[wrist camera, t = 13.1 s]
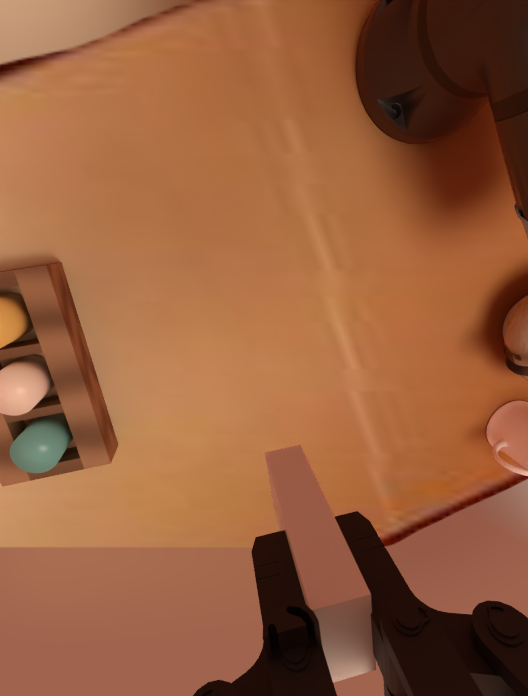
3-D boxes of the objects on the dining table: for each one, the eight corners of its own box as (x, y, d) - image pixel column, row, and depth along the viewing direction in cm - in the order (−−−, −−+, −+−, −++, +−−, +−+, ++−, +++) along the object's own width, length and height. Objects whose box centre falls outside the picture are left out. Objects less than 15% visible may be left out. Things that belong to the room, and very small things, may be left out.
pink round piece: (3, 359, 39) (-25, 376, 35) (48, 351, 40) (28, 366, 35) (18, 398, 41) (-6, 419, 36) (62, 390, 41) (44, 410, 37)
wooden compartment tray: (-59, 280, 37) (-88, 285, 34) (61, 262, 39) (46, 265, 35) (19, 465, 45) (2, 486, 41) (118, 444, 46) (110, 463, 42)
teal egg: (25, 416, 42) (2, 438, 37) (68, 407, 42) (51, 428, 37) (39, 451, 43) (19, 477, 38) (80, 442, 44) (65, 467, 39)
